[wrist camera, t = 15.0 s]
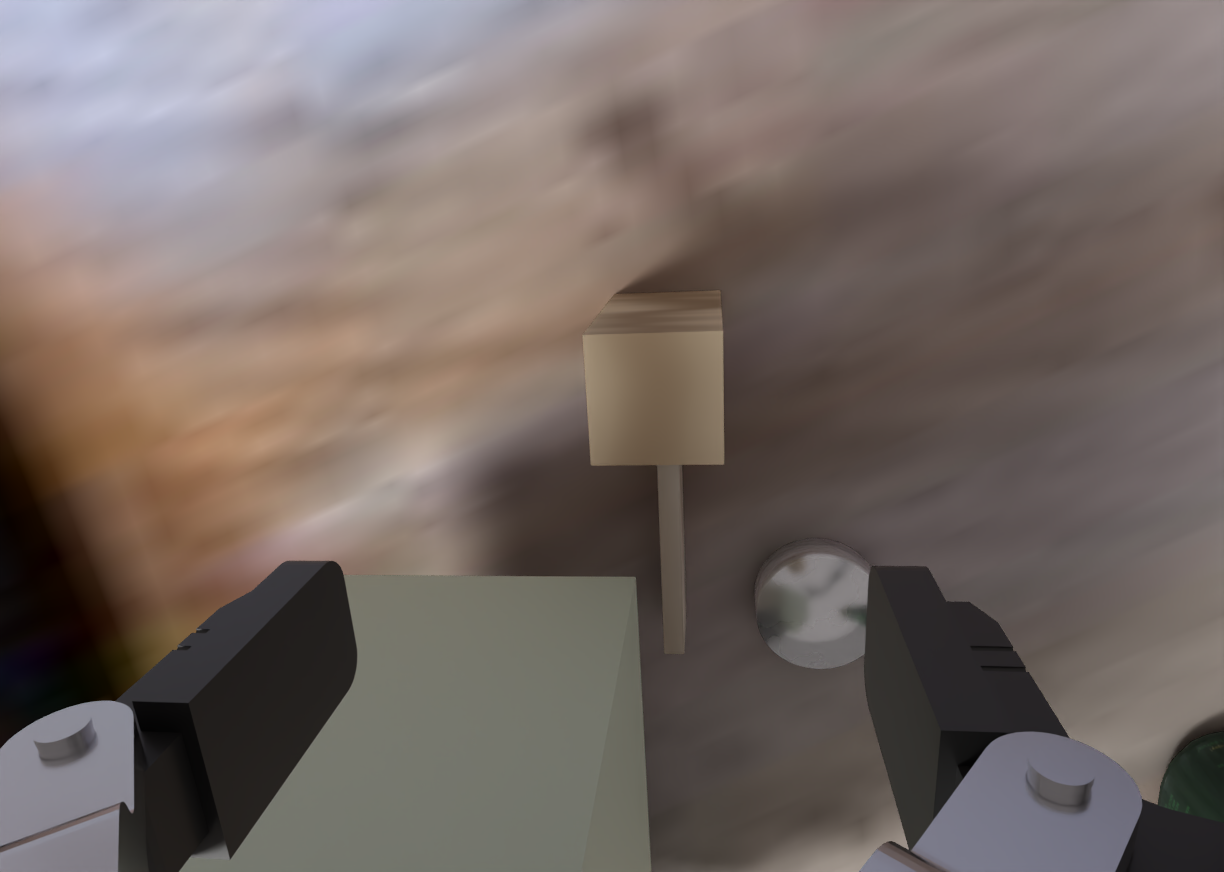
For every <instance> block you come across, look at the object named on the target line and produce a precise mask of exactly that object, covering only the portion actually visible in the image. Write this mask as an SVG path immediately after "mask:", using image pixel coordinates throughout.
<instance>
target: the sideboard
mask: <svg viewBox="0 0 1224 872" xmlns="http://www.w3.org/2000/svg"><path fill="white" fill-rule="evenodd" d="M344 579H345V585H346V590H347V596H348V601H349V607H350V612H351V618H352V623H353V629H354V634H355V640H356V645H357V668H356V673H355V677H354V680H353V683H352V685H351V687H350V689H349V691H348V692H347V694H346V695H345V696H344V698H343V699H342V701H341V702H340V704H339V705H338V706H337V708H336V709H335V711H334V712H333V714H332V715H331V716H330V718H329V719H328V721H327V722H326V724H325V725H324V726H323V728H322V729H321V731H320V732H319V734H318V735H317V737H316V738H315V739H314V741H313V742H312V744H311V745H310V747H309V748H308V749H307V751H306V752H305V754H304V755H303V757H302V758H301V759H300V761H299V762H298V764H297V765H296V767H295V768H294V769H293V771H292V772H291V774H290V775H289V777H288V778H287V779H286V781H285V782H284V784H283V785H282V787H281V788H280V789H279V791H278V792H277V794H276V795H275V797H274V798H273V799H272V801H271V802H270V804H269V805H268V807H267V808H266V809H265V811H264V812H263V814H262V815H261V817H260V818H259V819H258V821H257V822H256V824H255V825H254V827H253V828H252V829H251V831H250V832H249V834H248V835H247V837H246V838H245V840H244V841H243V842H242V844H241V845H240V847H239V848H238V850H237V851H236V852H235V854H234V855H233V857H232V858H231V860H222V859H206V858H189V859H188V860H187V862H186V863H185V864H184V866H183V867H182V868H181V870H180V871H179V872H651V856H650V837H649V818H648V799H647V780H646V761H645V742H644V723H643V704H642V685H641V666H640V647H639V628H638V609H637V590H636V577H572V576H416V575H344Z"/></svg>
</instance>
